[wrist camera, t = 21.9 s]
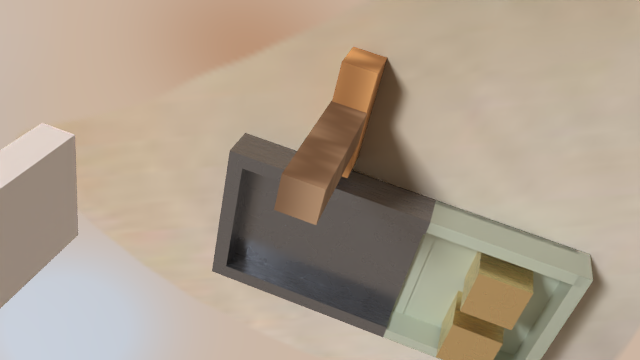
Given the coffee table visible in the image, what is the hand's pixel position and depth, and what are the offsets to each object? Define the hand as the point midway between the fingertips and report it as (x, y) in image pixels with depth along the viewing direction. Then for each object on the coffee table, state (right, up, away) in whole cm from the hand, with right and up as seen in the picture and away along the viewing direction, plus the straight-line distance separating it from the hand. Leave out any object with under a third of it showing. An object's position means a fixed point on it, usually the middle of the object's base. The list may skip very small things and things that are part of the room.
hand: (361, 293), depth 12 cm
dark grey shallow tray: (-1, -2, +39) cm, 39 cm away
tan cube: (+12, -9, +39) cm, 41 cm away
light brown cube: (+13, -5, +35) cm, 38 cm away
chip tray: (+12, -6, +37) cm, 40 cm away
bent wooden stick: (+2, +8, +32) cm, 33 cm away
